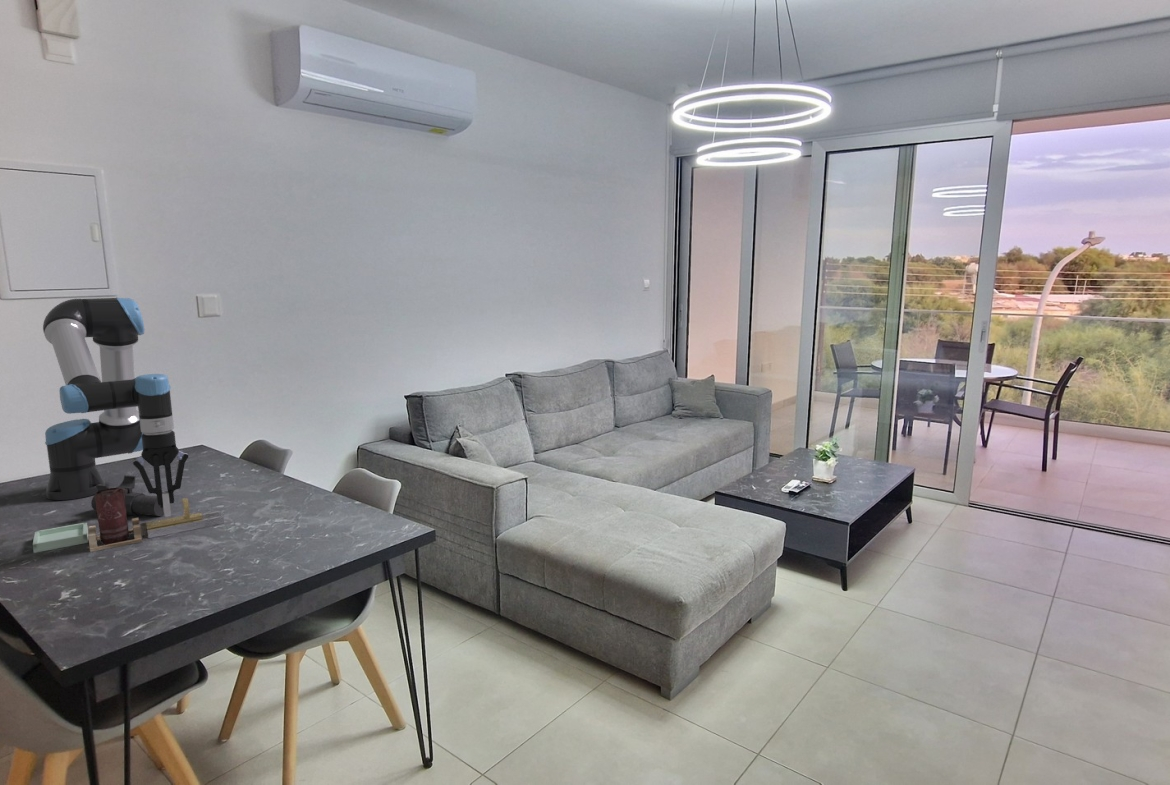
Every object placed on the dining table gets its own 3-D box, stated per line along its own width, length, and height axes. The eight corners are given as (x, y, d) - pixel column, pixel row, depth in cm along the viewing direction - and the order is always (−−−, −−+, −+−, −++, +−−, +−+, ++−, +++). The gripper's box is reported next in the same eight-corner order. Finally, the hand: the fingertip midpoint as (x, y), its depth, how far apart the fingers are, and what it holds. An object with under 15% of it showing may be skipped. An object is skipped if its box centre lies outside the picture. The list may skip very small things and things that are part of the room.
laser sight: (149, 522, 186) (145, 489, 185) (83, 516, 191) (79, 484, 189) (176, 510, 196) (172, 478, 194) (113, 505, 200) (109, 474, 198)
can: (135, 538, 174) (129, 488, 172) (110, 547, 169) (103, 495, 166) (121, 534, 177) (115, 485, 174) (96, 543, 171) (89, 492, 169)
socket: (90, 539, 173) (88, 525, 173) (139, 530, 180) (138, 516, 179) (90, 552, 166) (88, 537, 165) (142, 541, 172) (140, 527, 172)
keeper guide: (146, 531, 179) (146, 524, 179) (220, 517, 190) (219, 510, 190) (148, 538, 175) (147, 531, 174) (223, 523, 185) (223, 516, 185)
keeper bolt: (138, 534, 177) (134, 506, 176) (201, 522, 186) (198, 495, 184) (139, 538, 175) (135, 509, 173) (203, 525, 183) (200, 498, 182)
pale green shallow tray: (36, 539, 174) (35, 531, 173) (88, 529, 180) (87, 522, 180) (33, 552, 165) (32, 544, 165) (87, 542, 172) (86, 534, 171)
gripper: (129, 438, 168) (139, 524, 172) (187, 431, 176) (196, 514, 180) (127, 432, 174) (138, 516, 178) (184, 426, 182) (193, 506, 186)
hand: (167, 515), depth 179 cm, fingers closed
